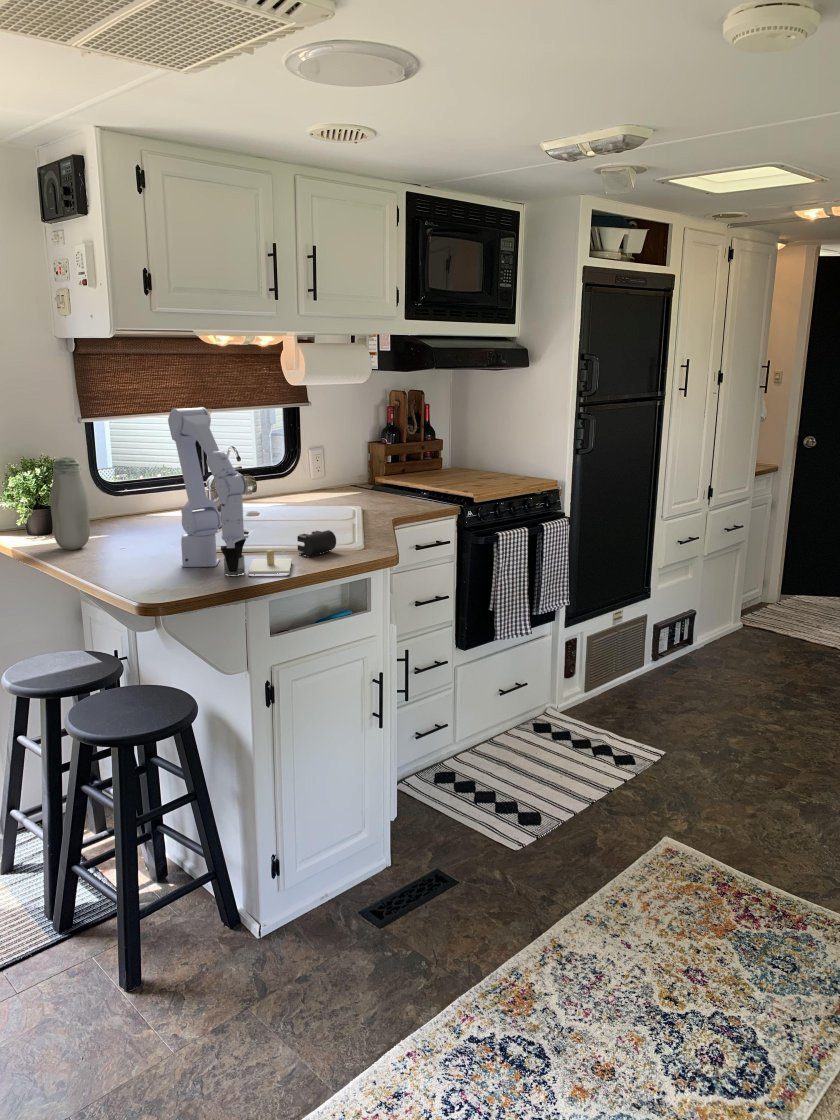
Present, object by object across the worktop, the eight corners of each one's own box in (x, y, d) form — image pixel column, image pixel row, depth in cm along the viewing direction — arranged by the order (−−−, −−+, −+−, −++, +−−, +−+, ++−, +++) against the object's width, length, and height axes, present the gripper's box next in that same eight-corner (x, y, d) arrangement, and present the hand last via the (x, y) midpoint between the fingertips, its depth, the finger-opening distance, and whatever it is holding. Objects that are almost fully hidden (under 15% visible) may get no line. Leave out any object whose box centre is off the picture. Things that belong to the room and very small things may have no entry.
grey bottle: (78, 553, 253) (70, 460, 247) (48, 551, 256) (39, 458, 249) (98, 546, 263) (90, 455, 256) (68, 544, 265) (60, 454, 258)
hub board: (248, 576, 230) (247, 557, 229) (253, 564, 244) (252, 545, 242) (289, 576, 231) (289, 556, 230) (291, 563, 245) (291, 544, 243)
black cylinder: (313, 559, 250) (313, 536, 249) (296, 555, 254) (296, 533, 253) (336, 553, 258) (336, 531, 256) (320, 549, 262) (319, 528, 260)
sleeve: (223, 576, 230) (223, 558, 229) (226, 571, 235) (225, 554, 234) (243, 576, 230) (242, 558, 229) (245, 571, 235) (244, 554, 234)
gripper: (244, 524, 222) (247, 574, 226) (249, 514, 236) (251, 561, 240) (217, 524, 222) (219, 575, 225) (224, 514, 236) (226, 561, 239)
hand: (234, 568), depth 232 cm, fingers open, 7 cm apart
